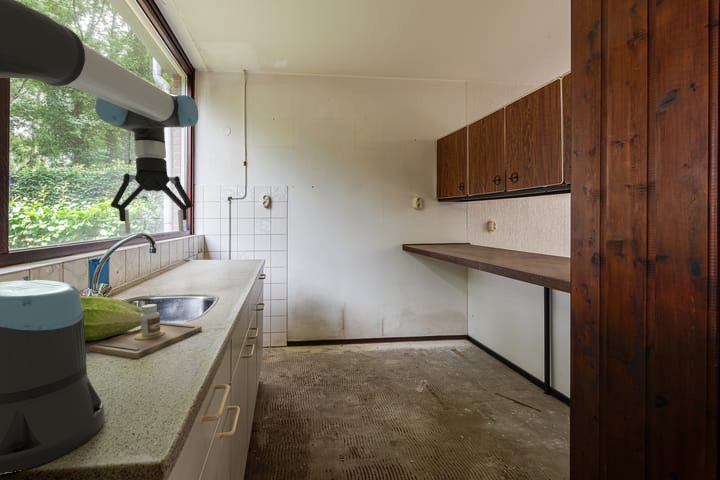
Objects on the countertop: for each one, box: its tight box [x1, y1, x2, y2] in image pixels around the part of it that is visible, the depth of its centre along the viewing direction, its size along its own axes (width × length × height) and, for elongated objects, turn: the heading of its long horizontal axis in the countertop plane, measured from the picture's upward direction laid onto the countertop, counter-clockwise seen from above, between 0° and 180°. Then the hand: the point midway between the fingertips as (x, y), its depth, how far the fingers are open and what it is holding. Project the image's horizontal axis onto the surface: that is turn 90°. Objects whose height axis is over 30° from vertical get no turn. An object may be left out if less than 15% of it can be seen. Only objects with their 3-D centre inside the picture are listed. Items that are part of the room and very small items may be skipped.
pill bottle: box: [140, 303, 161, 336], centre depth 92 cm, size 4×4×8 cm
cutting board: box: [89, 321, 203, 359], centre depth 92 cm, size 20×16×2 cm
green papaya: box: [80, 295, 143, 343], centre depth 94 cm, size 13×22×14 cm
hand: (155, 232), depth 99 cm, fingers open, 13 cm apart
